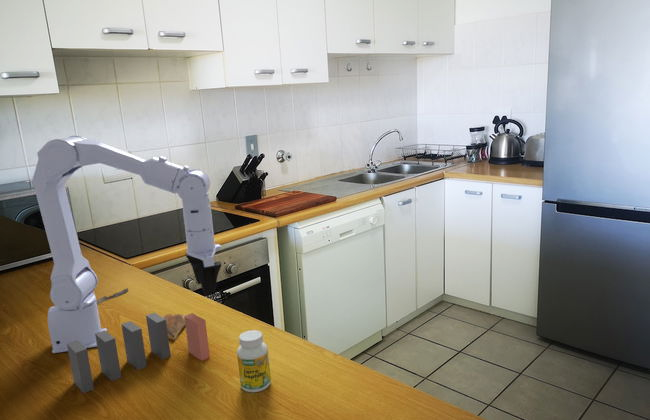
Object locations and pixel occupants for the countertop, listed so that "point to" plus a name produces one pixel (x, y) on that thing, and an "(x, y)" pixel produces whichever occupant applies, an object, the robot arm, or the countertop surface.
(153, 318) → the domino
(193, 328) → the red domino
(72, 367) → the domino
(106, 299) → the grey brown bark strip
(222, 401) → the countertop surface
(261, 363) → the supplement bottle
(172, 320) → the shard
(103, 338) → the domino
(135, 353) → the domino
